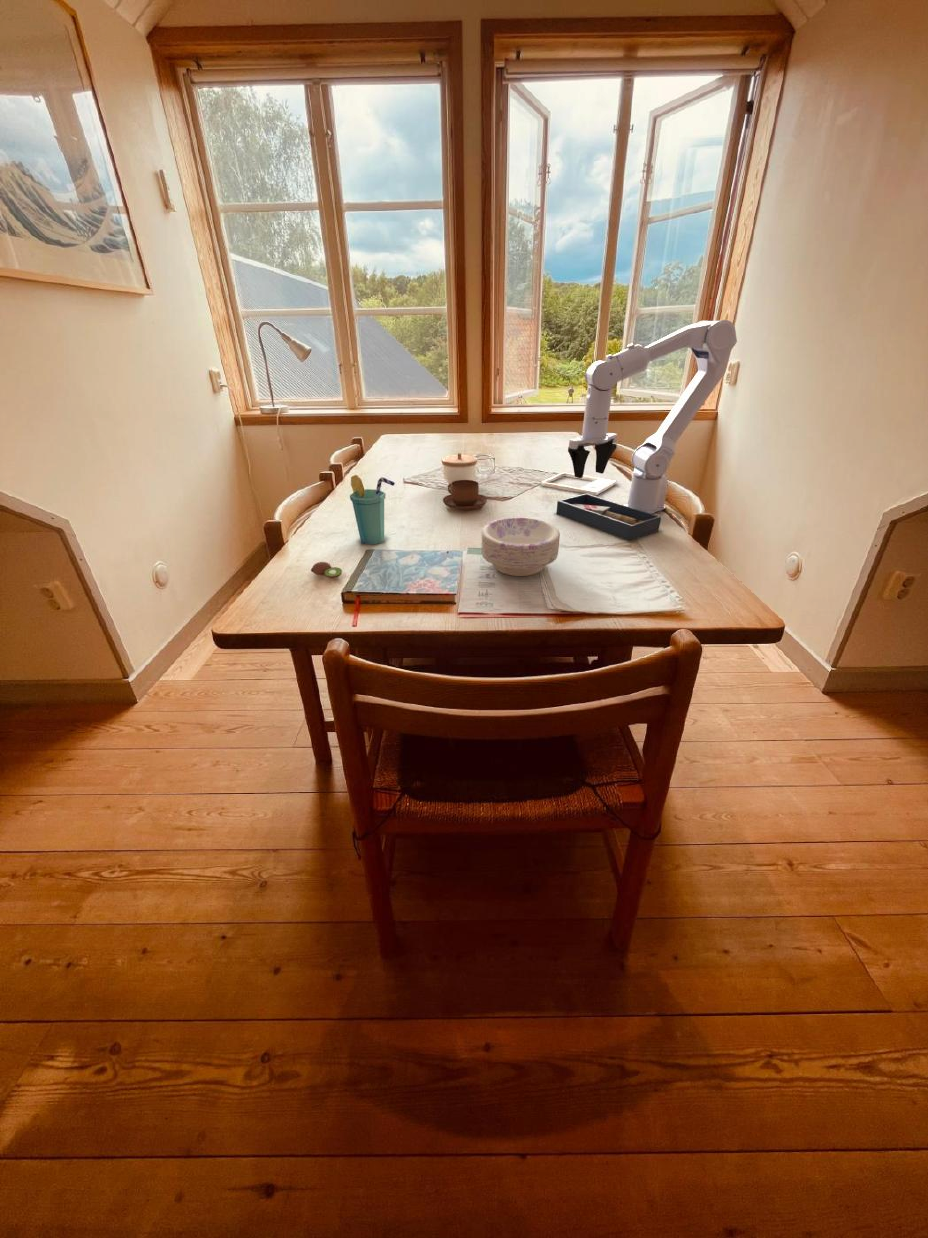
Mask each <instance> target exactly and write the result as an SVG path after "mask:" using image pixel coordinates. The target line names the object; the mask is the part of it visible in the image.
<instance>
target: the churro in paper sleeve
mask: <svg viewBox="0 0 928 1238" xmlns="http://www.w3.org/2000/svg"><path fill="white" fill-rule="evenodd" d="M572 505H574V506H577V507H580V508H583V509H586V510H589V511H592V512H595V513H598V514H601V515H604V516H607V517H610V518H613V519H616V520H619V521H621V522H624V523H627V524H630V525H633V524H637V523H640V522H643V521H641V520H640V521H639V520H637V519H634V518H630V517H627V516H623V515H620V514H616V513H613V512H609V511H608V510H609V509H610V507H604V506H593V505H583V504H572Z"/></svg>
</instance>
